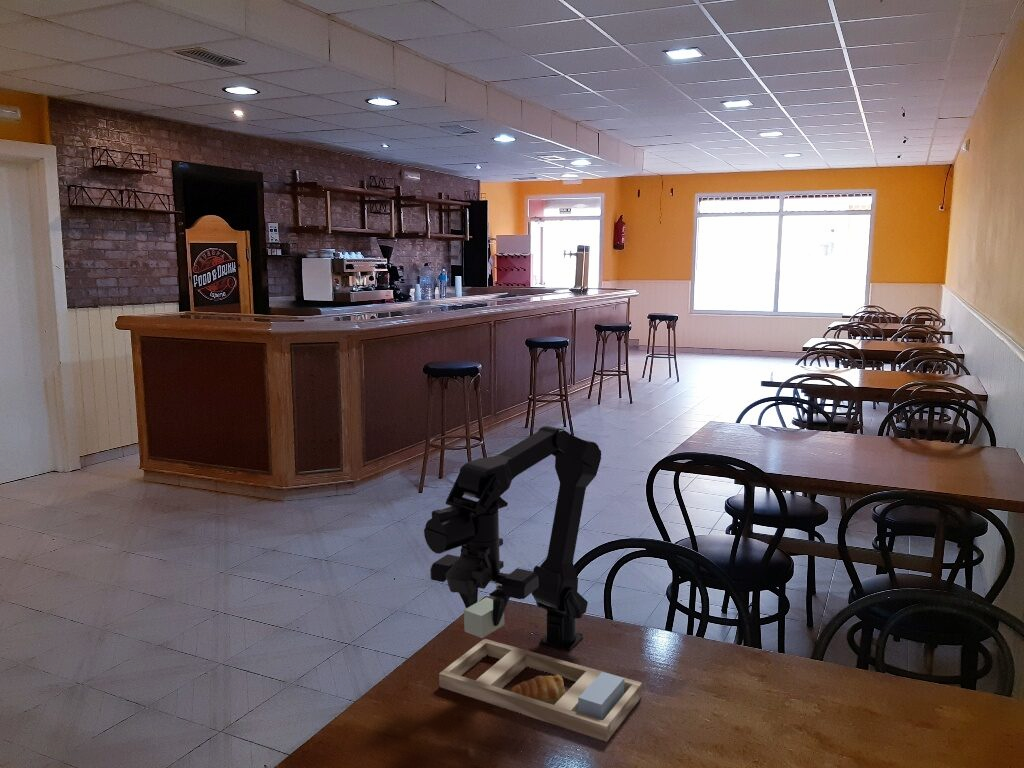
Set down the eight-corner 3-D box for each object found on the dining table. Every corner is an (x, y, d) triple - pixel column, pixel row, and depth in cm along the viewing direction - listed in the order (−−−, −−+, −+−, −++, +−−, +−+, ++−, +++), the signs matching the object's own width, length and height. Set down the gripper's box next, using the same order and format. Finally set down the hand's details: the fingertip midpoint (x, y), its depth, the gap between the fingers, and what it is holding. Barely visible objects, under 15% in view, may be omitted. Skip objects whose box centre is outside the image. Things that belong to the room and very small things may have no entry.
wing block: (602, 696, 132) (602, 671, 131) (624, 703, 130) (624, 678, 129) (578, 723, 124) (578, 697, 124) (601, 731, 122) (601, 704, 121)
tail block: (487, 618, 139) (486, 597, 138) (504, 624, 137) (504, 603, 136) (464, 631, 135) (463, 609, 134) (482, 638, 132) (481, 616, 131)
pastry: (513, 714, 127) (512, 692, 127) (506, 692, 134) (506, 671, 133) (569, 708, 129) (569, 686, 128) (560, 687, 135) (560, 666, 135)
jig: (484, 650, 147) (484, 638, 147) (641, 696, 131) (642, 682, 131) (439, 686, 135) (439, 673, 135) (606, 741, 119) (606, 726, 119)
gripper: (409, 543, 130) (413, 630, 133) (506, 562, 121) (509, 655, 124) (446, 522, 140) (449, 604, 143) (539, 539, 131) (540, 626, 134)
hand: (484, 622), depth 135 cm, fingers closed on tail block, 4 cm apart
